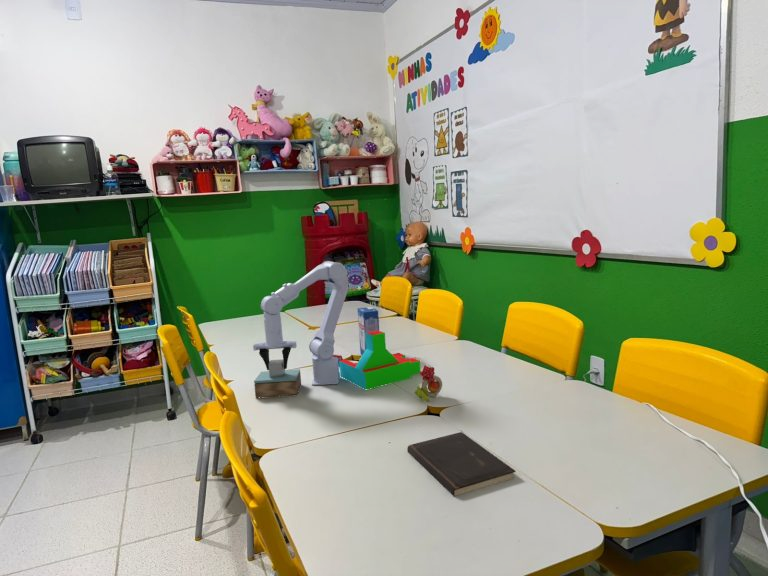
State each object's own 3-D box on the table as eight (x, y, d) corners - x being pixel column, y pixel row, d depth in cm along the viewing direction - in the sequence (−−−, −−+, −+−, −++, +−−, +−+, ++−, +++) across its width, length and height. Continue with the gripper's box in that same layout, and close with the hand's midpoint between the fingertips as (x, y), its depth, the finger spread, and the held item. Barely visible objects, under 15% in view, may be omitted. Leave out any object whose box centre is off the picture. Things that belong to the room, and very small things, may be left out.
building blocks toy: (424, 374, 188) (422, 326, 186) (366, 391, 175) (362, 339, 172) (395, 363, 204) (393, 318, 201) (340, 377, 191) (336, 330, 188)
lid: (300, 371, 184) (300, 369, 184) (295, 380, 173) (295, 378, 173) (261, 373, 184) (261, 371, 184) (254, 383, 173) (254, 381, 173)
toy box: (301, 384, 185) (300, 371, 184) (296, 395, 174) (295, 381, 173) (262, 387, 184) (261, 373, 184) (255, 398, 174) (254, 384, 173)
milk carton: (360, 353, 219) (357, 308, 216) (374, 351, 221) (371, 306, 218) (366, 360, 210) (363, 312, 207) (381, 357, 212) (378, 310, 209)
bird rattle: (429, 399, 169) (407, 395, 164) (440, 367, 169) (418, 362, 165) (440, 406, 163) (418, 401, 159) (451, 372, 164) (428, 366, 159)
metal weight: (285, 373, 180) (283, 359, 179) (282, 376, 175) (281, 362, 175) (272, 373, 180) (271, 360, 179) (269, 377, 175) (268, 363, 175)
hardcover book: (461, 439, 136) (461, 431, 135) (515, 480, 115) (515, 470, 114) (407, 454, 130) (407, 445, 129) (453, 499, 109) (453, 489, 108)
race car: (319, 371, 200) (318, 361, 199) (311, 369, 203) (310, 359, 203) (345, 362, 209) (344, 353, 208) (336, 360, 213) (336, 351, 212)
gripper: (249, 335, 172) (253, 373, 174) (292, 332, 172) (296, 371, 174) (254, 330, 179) (258, 367, 181) (295, 327, 179) (299, 364, 181)
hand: (277, 368), depth 178 cm, fingers open, 5 cm apart
